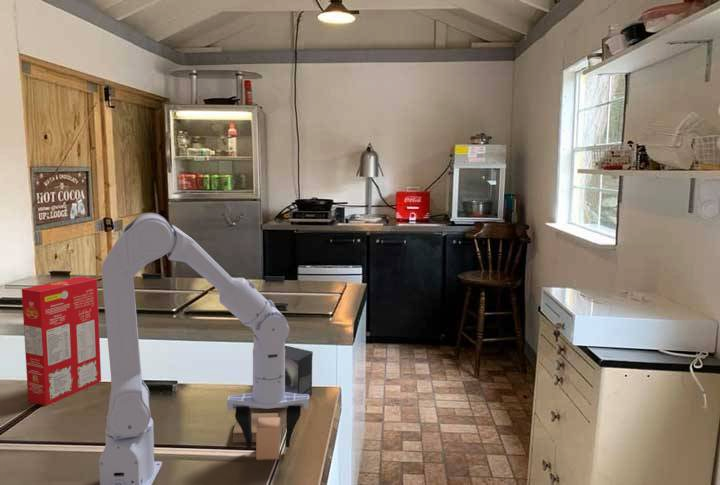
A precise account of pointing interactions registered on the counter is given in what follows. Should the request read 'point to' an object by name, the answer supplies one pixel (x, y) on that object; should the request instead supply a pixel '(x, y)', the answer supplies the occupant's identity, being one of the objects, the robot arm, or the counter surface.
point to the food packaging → (61, 338)
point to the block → (268, 438)
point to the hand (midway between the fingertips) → (268, 444)
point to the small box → (298, 370)
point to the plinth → (238, 433)
